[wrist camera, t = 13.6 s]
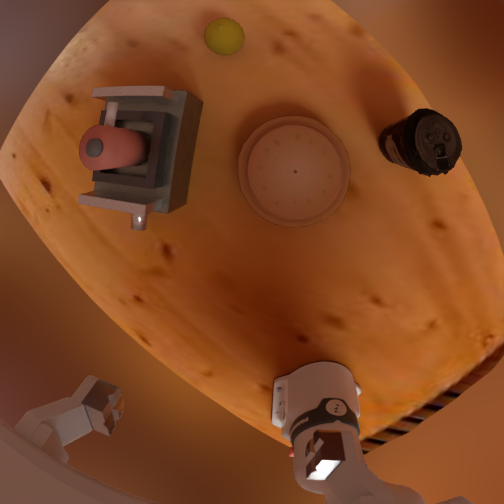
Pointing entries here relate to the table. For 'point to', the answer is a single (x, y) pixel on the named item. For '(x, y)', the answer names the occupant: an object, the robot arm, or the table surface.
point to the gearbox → (160, 156)
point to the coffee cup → (422, 142)
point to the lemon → (224, 36)
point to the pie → (293, 171)
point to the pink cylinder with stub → (113, 144)
